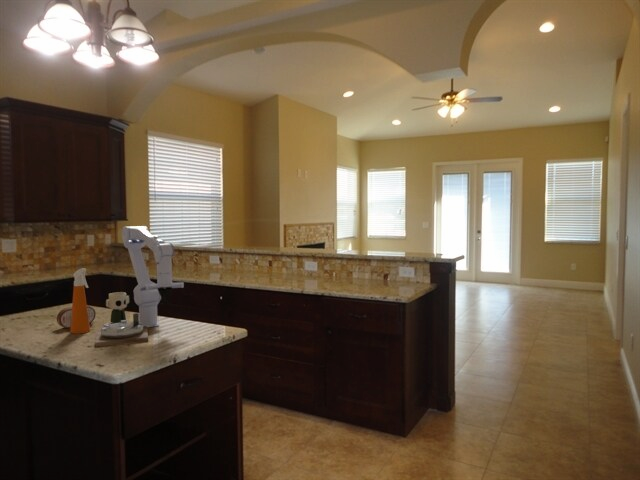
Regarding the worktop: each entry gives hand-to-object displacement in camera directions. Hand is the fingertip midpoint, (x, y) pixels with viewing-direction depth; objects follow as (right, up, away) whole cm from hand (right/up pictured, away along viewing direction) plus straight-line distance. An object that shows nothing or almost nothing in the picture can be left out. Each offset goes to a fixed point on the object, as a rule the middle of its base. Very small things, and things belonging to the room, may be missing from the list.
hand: (165, 306), depth 184 cm
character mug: (-26, -10, +14) cm, 31 cm away
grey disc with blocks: (-14, -9, -8) cm, 19 cm away
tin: (-41, -10, +9) cm, 43 cm away
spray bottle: (-33, -11, -1) cm, 35 cm away
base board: (-14, -11, -8) cm, 19 cm away
